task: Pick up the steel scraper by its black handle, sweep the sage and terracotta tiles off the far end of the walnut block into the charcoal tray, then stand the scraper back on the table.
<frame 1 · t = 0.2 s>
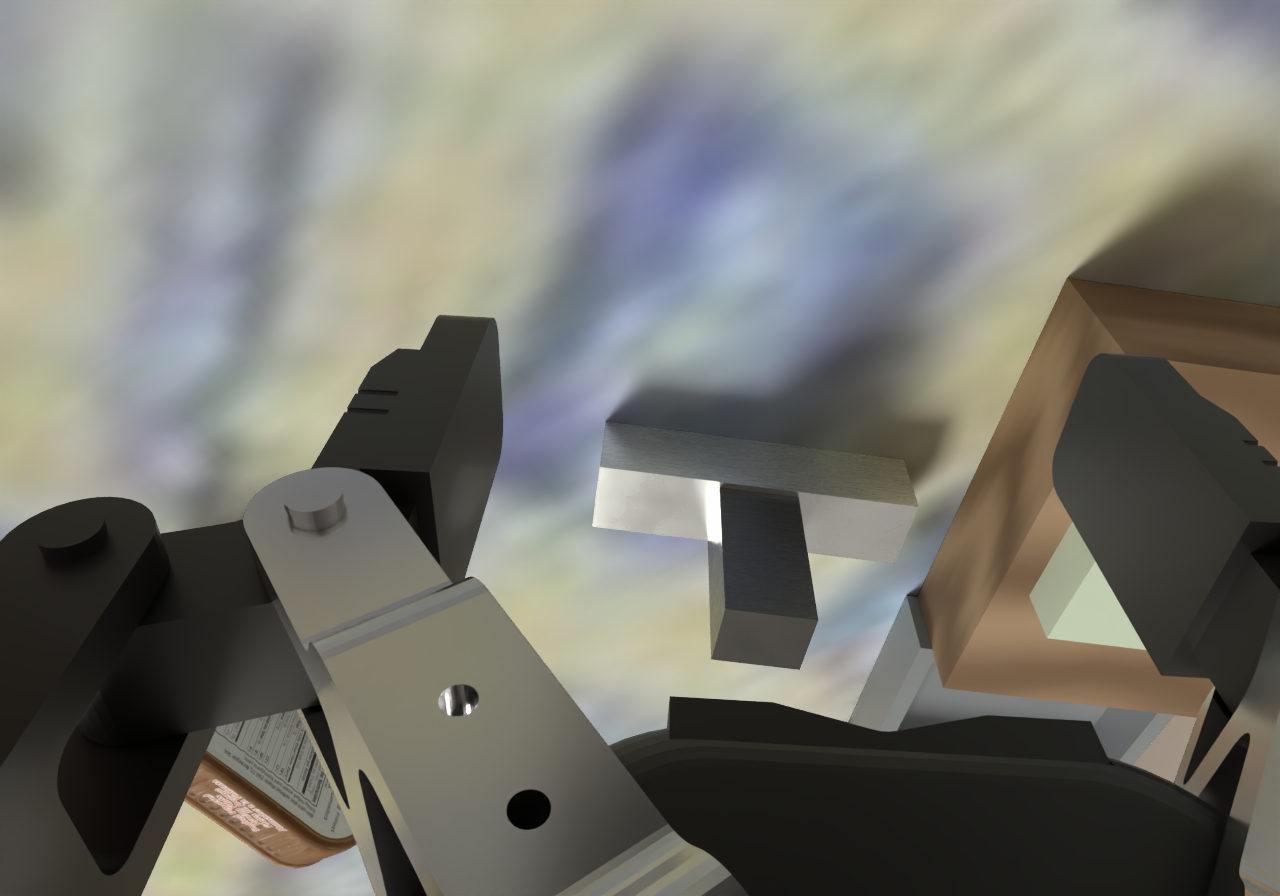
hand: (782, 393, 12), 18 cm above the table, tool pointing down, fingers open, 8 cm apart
scraper: (747, 467, 36), on the table
sage tile: (1116, 559, 31), point 5 cm above the table, touching walnut block
tin: (299, 658, 44), on the table
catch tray: (999, 679, 43), on the table
walnut block: (1127, 478, 35), on the table
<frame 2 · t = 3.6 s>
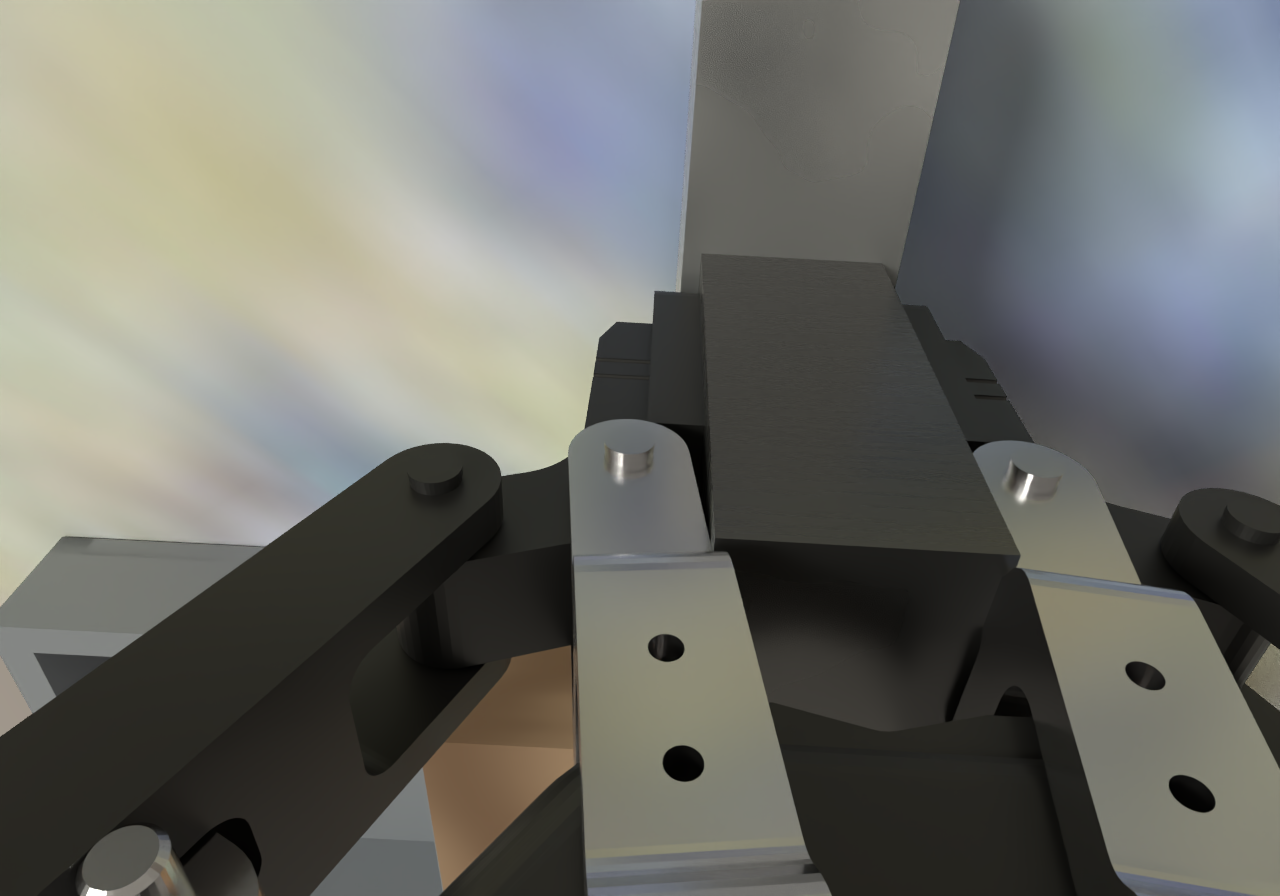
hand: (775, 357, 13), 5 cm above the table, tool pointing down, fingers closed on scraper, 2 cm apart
scraper: (762, 271, 15), point 2 cm above the table, touching gripper
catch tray: (308, 710, 25), on the table
walnut block: (756, 739, 25), on the table
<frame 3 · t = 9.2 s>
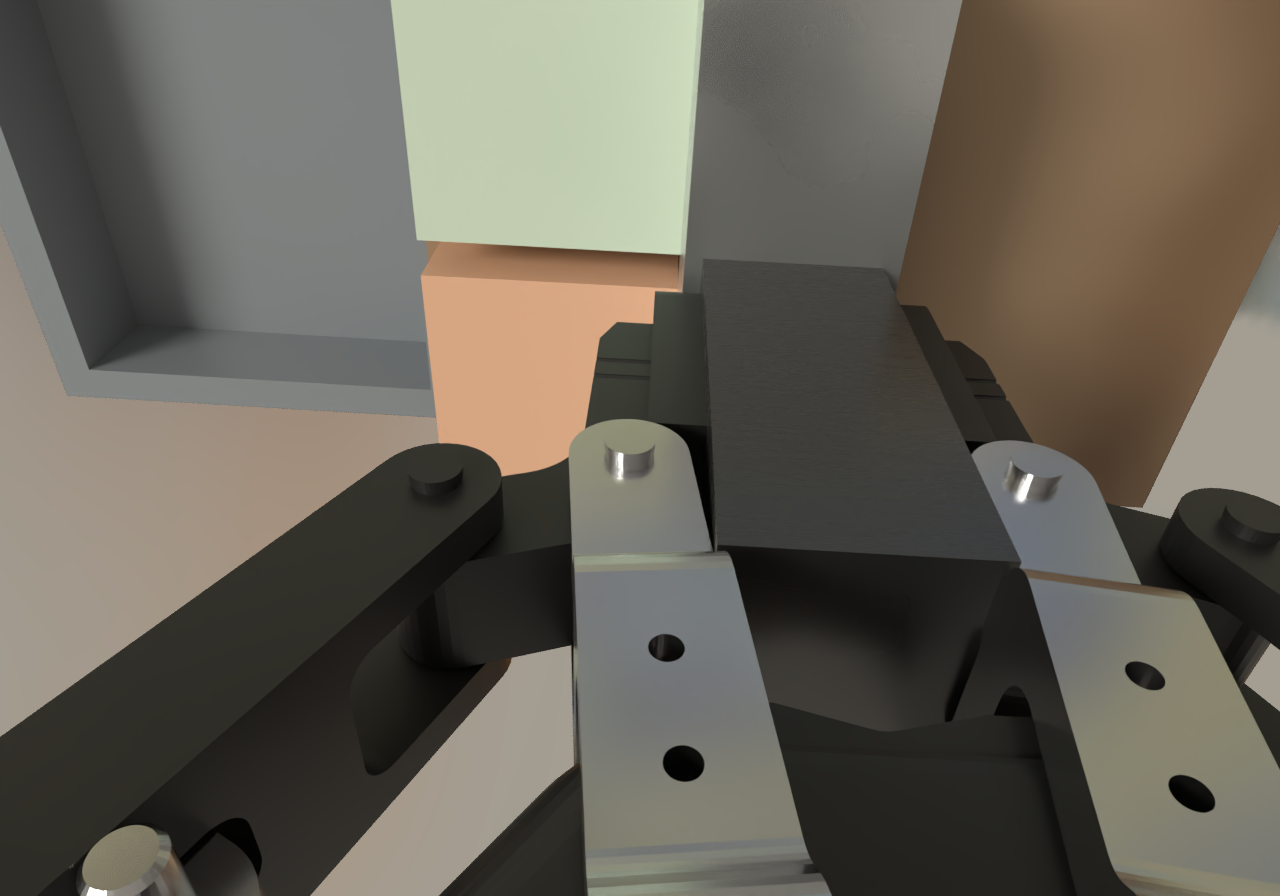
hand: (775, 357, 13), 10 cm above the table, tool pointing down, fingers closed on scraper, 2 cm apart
scraper: (763, 275, 15), point 7 cm above the table, touching gripper, sage tile, terracotta tile
terracotta tile: (562, 342, 18), point 5 cm above the table, touching scraper
sage tile: (560, 81, 15), point 5 cm above the table, touching scraper, walnut block
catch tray: (263, 117, 21), on the table
walnut block: (809, 159, 21), on the table
when the fingers open (6 cm above the table, at t = 16.5 s): scraper drops 3 cm, on the table.
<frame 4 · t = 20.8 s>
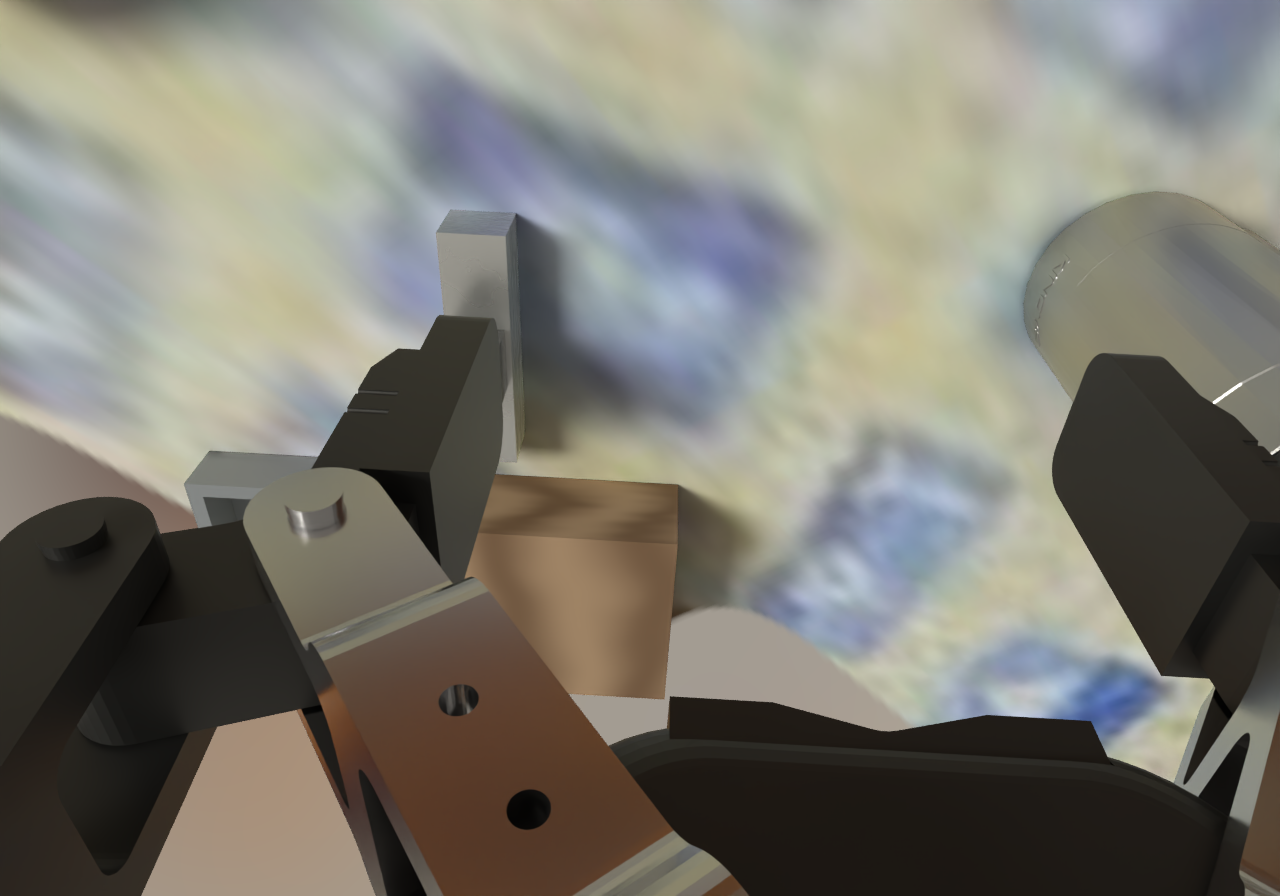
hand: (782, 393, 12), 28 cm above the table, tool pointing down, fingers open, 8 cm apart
scraper: (491, 327, 43), on the table
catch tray: (318, 541, 52), on the table
walnut block: (536, 557, 52), on the table
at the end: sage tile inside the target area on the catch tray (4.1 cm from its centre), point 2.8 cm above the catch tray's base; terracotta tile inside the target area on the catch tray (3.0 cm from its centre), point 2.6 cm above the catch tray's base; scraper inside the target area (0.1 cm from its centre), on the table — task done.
